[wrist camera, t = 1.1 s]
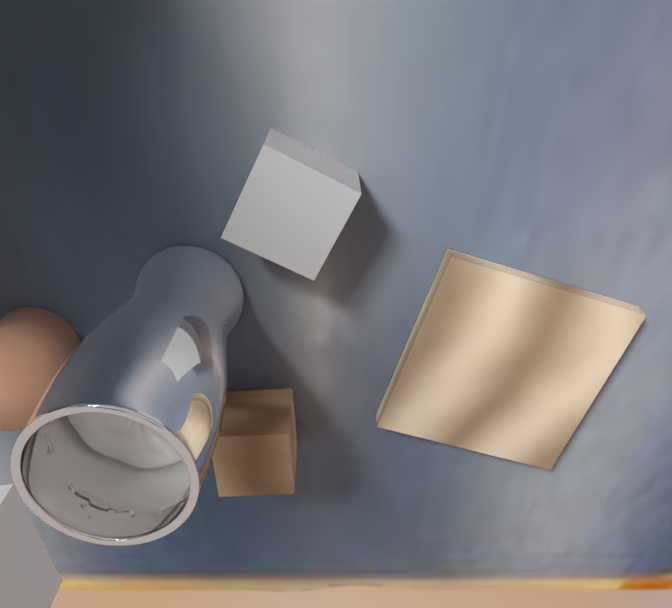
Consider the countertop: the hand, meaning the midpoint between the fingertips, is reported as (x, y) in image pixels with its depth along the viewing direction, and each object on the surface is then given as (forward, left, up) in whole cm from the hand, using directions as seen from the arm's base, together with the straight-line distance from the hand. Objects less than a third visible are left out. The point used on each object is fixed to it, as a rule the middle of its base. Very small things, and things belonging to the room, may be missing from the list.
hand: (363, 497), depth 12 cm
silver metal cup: (-6, -9, -23) cm, 25 cm away
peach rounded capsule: (-14, -15, -23) cm, 30 cm away
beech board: (+13, -8, -22) cm, 27 cm away
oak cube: (0, -16, -23) cm, 28 cm away
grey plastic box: (-2, -1, -23) cm, 23 cm away
